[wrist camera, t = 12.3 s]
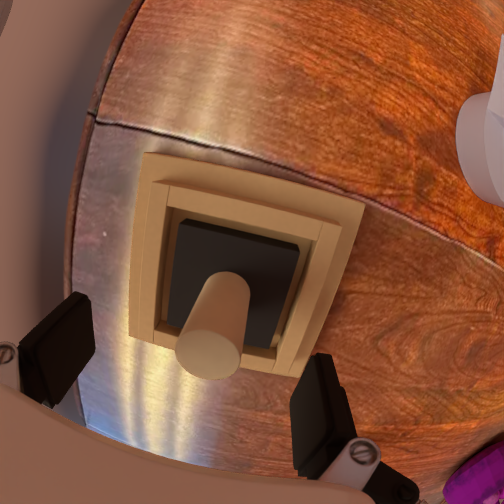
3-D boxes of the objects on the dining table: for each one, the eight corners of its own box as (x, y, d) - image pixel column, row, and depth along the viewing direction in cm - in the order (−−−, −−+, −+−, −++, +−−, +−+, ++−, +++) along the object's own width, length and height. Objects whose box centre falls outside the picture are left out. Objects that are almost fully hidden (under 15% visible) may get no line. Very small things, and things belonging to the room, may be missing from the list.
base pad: (133, 329, 21) (120, 346, 19) (149, 152, 17) (132, 152, 14) (298, 370, 21) (301, 391, 19) (361, 201, 17) (375, 208, 14)
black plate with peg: (172, 313, 19) (131, 385, 12) (186, 217, 17) (130, 260, 10) (269, 336, 19) (267, 420, 12) (298, 244, 17) (316, 305, 10)
